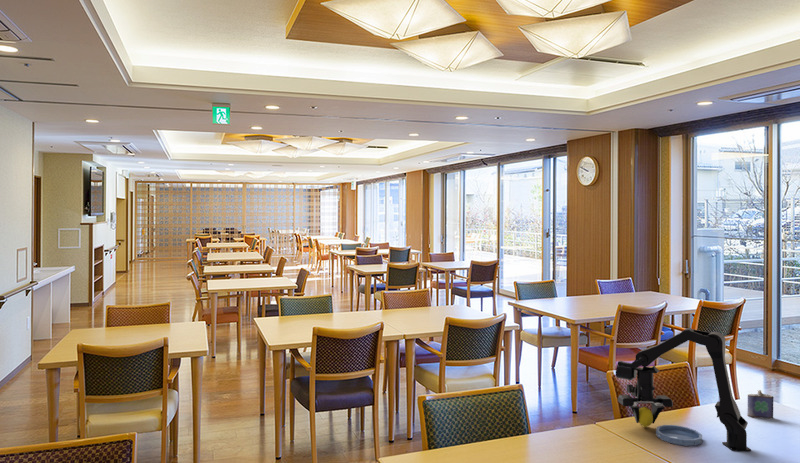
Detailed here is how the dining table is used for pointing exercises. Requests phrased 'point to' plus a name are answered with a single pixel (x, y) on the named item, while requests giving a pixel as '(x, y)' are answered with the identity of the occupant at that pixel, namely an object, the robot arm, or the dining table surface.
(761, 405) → the flask
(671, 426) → the light blue round dish
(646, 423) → the lemon
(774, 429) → the dining table surface
